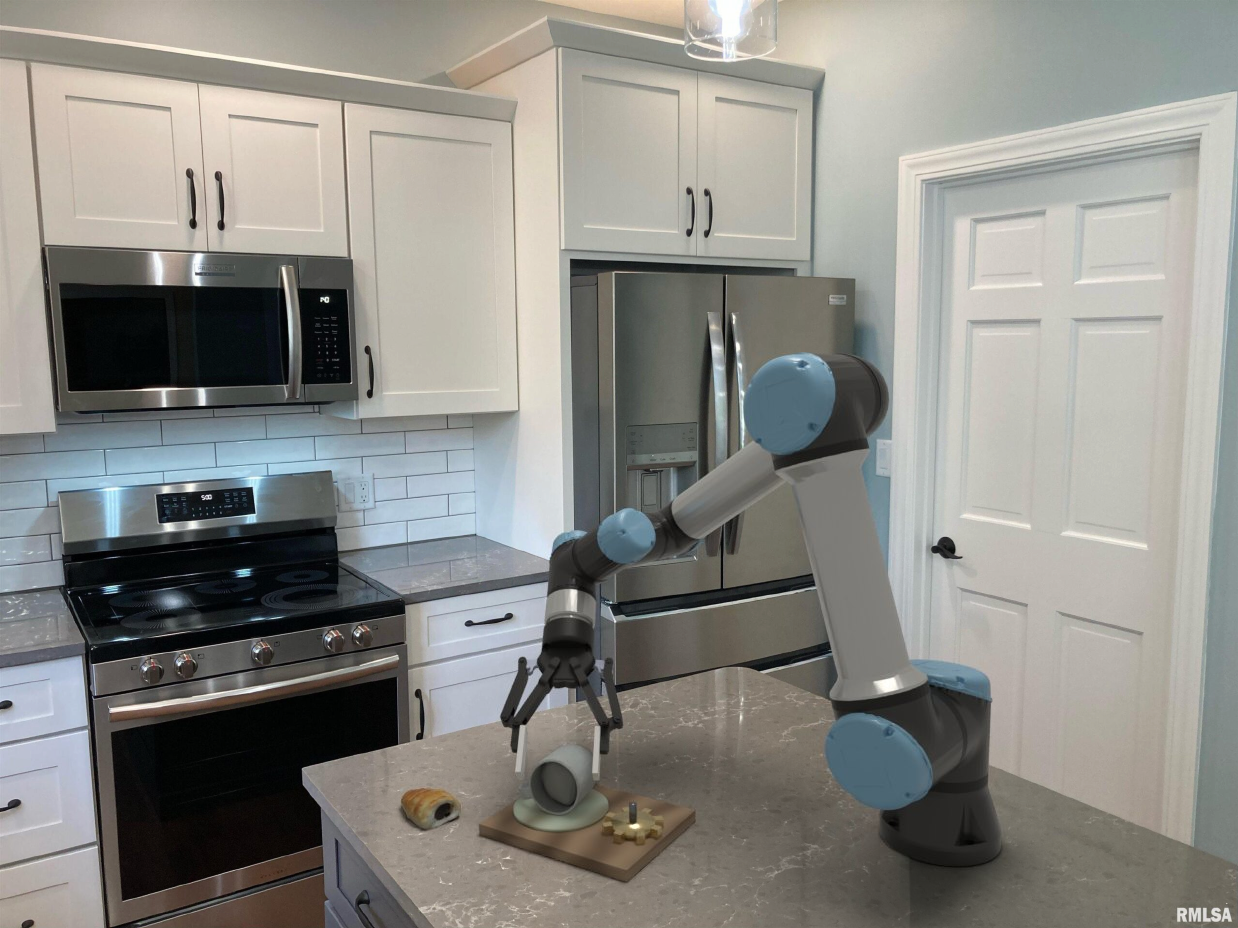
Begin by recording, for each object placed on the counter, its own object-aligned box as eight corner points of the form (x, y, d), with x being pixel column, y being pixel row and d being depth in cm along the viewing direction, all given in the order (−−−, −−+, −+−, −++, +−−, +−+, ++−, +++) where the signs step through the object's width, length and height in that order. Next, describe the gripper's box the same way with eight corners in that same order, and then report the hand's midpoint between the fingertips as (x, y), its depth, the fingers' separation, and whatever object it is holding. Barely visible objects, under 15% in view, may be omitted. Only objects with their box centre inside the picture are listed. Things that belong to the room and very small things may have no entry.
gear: (674, 824, 126) (674, 798, 125) (644, 850, 119) (643, 823, 118) (623, 810, 130) (622, 784, 129) (590, 834, 123) (590, 808, 123)
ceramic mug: (602, 792, 134) (600, 739, 133) (580, 819, 126) (578, 764, 125) (534, 782, 137) (532, 731, 136) (508, 808, 130) (505, 754, 129)
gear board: (695, 820, 130) (695, 806, 129) (627, 881, 114) (626, 866, 114) (557, 783, 142) (557, 770, 142) (479, 834, 126) (478, 820, 126)
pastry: (388, 811, 134) (388, 785, 134) (429, 796, 139) (429, 771, 138) (425, 834, 127) (424, 806, 127) (467, 817, 132) (466, 791, 132)
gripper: (645, 640, 143) (641, 787, 129) (498, 639, 144) (479, 785, 130) (643, 615, 137) (639, 766, 123) (490, 614, 138) (470, 763, 124)
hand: (557, 776), depth 127 cm, fingers open, 10 cm apart
